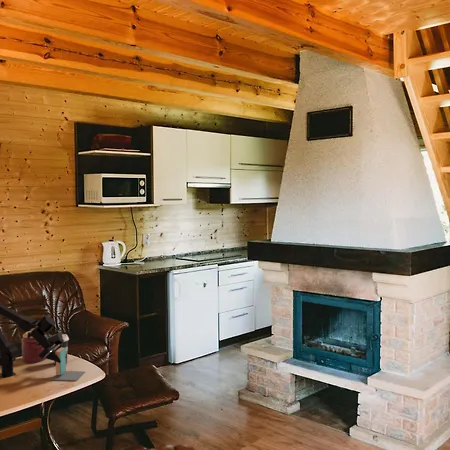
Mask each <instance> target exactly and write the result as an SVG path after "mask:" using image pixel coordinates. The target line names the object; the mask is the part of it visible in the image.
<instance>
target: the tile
mask: <svg viewBox="0 0 450 450" xmlns="http://www.w3.org/2000/svg"><path fill="white" fill-rule="evenodd" d="M55 353H56V355H57V356H58V357H59V359H60V360H61V363H58V362H56V364H55V375H61V374H63V373H64V372H65V371H67V363H66V352H65V348H59V349H58V350H57V351H55Z"/></svg>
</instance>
